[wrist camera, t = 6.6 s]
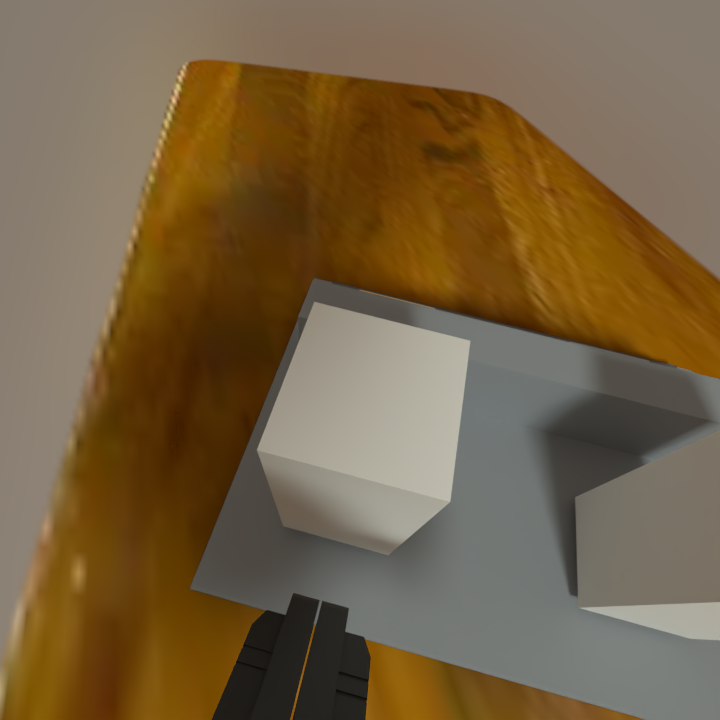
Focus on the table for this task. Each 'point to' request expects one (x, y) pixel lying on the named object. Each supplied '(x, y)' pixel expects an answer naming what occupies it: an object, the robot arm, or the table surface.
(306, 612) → the robot arm
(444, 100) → the table surface
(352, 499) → the tall white pillar block
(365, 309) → the plate
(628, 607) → the white rectangular block
